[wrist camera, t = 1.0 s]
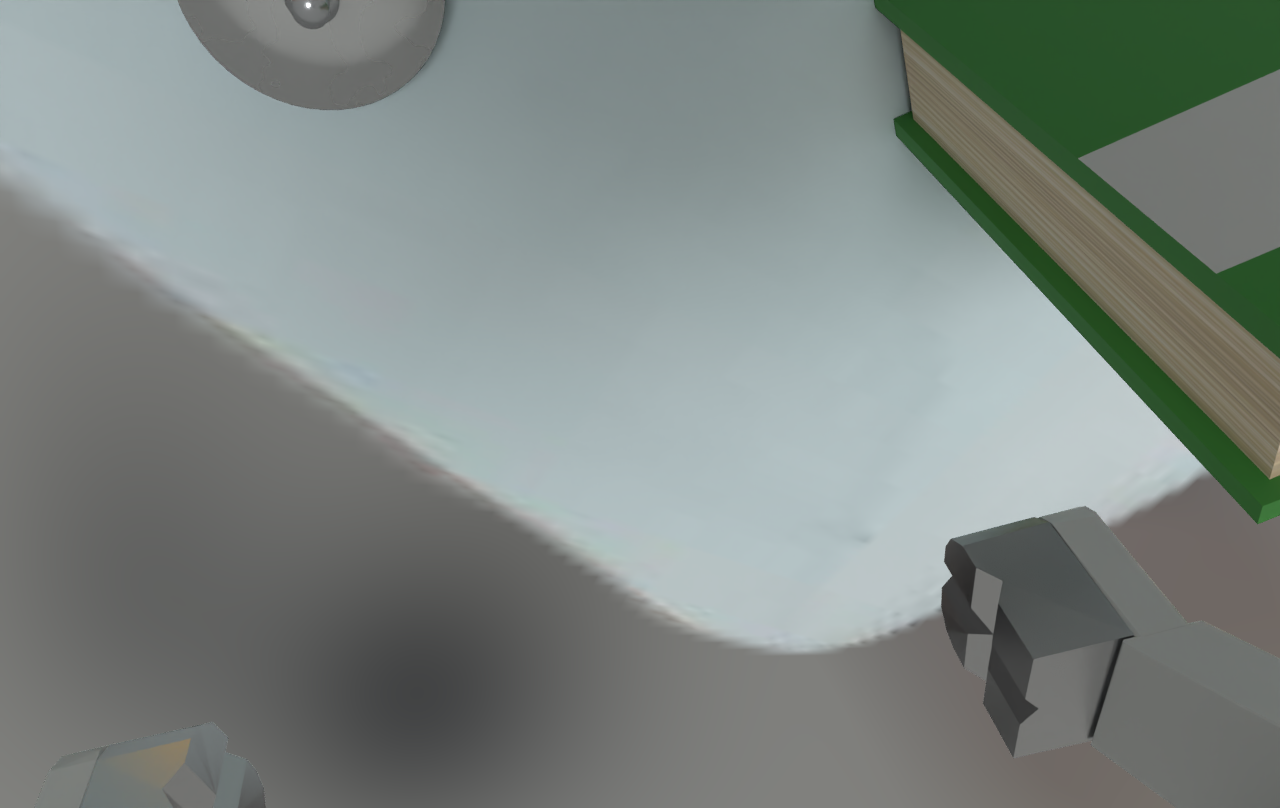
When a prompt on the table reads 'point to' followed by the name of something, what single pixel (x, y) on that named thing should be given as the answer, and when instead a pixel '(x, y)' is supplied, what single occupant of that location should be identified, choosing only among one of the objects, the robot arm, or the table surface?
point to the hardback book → (1127, 190)
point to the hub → (319, 45)
